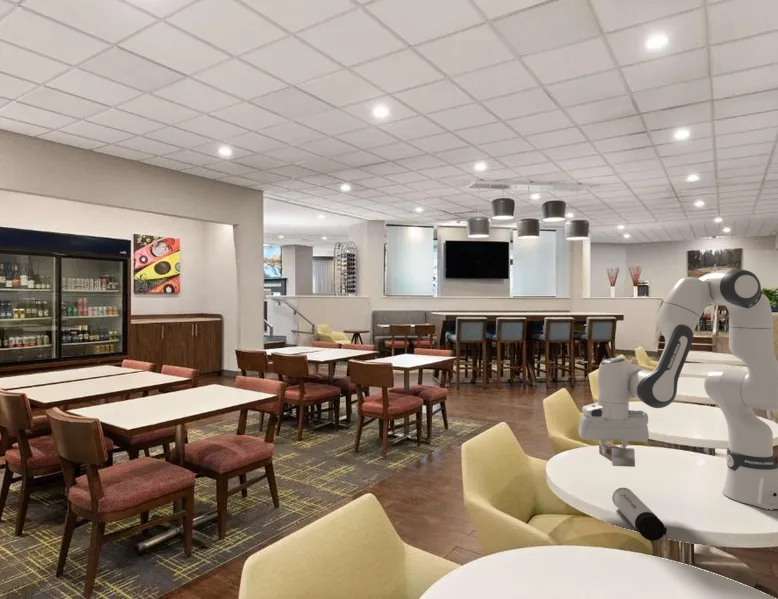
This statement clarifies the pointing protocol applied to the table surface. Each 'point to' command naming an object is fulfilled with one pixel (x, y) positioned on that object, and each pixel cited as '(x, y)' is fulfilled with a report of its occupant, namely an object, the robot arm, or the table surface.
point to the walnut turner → (619, 455)
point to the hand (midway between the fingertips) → (613, 454)
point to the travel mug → (639, 514)
